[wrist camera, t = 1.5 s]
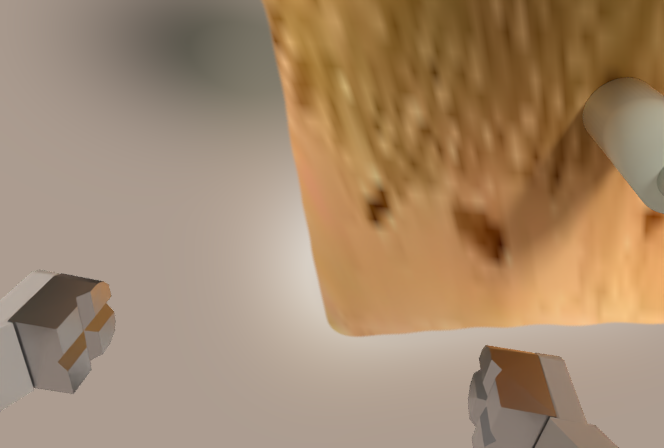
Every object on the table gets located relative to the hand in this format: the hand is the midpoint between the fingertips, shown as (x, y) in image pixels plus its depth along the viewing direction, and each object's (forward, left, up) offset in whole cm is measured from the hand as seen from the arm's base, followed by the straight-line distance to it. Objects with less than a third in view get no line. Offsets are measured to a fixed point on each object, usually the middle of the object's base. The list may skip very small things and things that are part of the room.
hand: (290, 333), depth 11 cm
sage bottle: (+3, +19, -31) cm, 36 cm away
